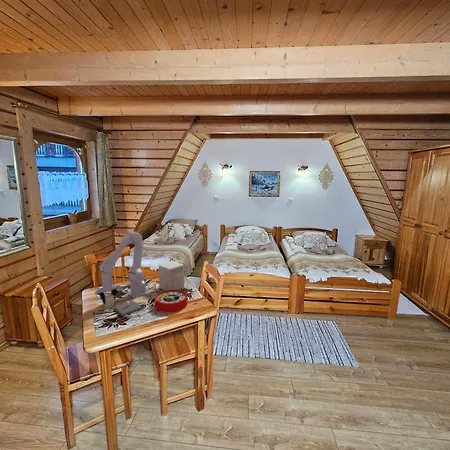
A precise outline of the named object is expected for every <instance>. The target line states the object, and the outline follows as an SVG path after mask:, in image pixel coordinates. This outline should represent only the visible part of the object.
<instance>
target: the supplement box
mask: <svg viewBox="0 0 450 450" xmlns="http://www.w3.org/2000/svg"><path fill="white" fill-rule="evenodd" d="M158 276H159V277H158V279H159V289H161V290H162V291H165V290H171V289H177V290H181V289H183V288H185V265H184V264H183V263H180V262H178V261H174V260H171V261H168V262H164V263H160V264H158Z"/></svg>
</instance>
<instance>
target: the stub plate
mask: <svg viewBox="0 0 450 450" xmlns="http://www.w3.org/2000/svg"><path fill="white" fill-rule="evenodd" d="M113 309H114V311H116V312H117V313H118V314H119V315H121V316H122V317H125V316H127V315H131V314H133V313H136V312H139V311H140V310H142V309H143V306H141V305H140V304H139V303H137V302H136V301H134V300H126V302H123V303H121V304H118V305H113Z"/></svg>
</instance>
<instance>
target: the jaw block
mask: <svg viewBox="0 0 450 450" xmlns="http://www.w3.org/2000/svg"><path fill="white" fill-rule="evenodd" d="M102 305H103V306H104V307H106V308H108V307H111V306H115V299H114V295H112V294H111V292H110V293H109V292H108V293H106V294H105V304H103V303H102Z"/></svg>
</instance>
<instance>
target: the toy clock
mask: <svg viewBox="0 0 450 450" xmlns="http://www.w3.org/2000/svg"><path fill="white" fill-rule="evenodd" d="M154 305H155V309H156V310H157V311H159V312H162V313H175V312H179V311H181V310H184V309H185V308H186V307H187V305H188V293H187V292H186V291H185V290H181V289H178V290H177V289H171V290H162V291H159V293H156V295H155V296H154Z"/></svg>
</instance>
